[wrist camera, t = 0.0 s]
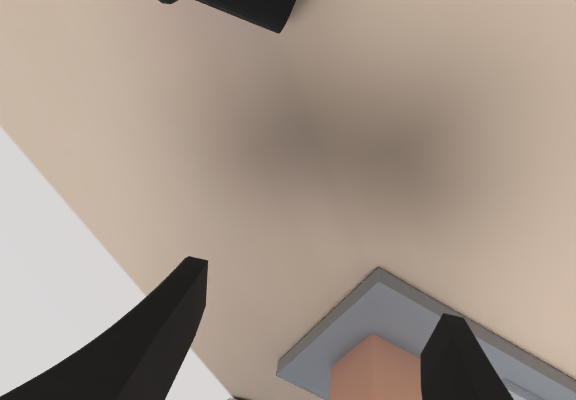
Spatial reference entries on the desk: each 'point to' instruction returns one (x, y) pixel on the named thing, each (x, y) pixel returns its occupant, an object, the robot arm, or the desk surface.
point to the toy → (254, 11)
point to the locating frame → (519, 391)
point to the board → (405, 339)
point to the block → (376, 373)
